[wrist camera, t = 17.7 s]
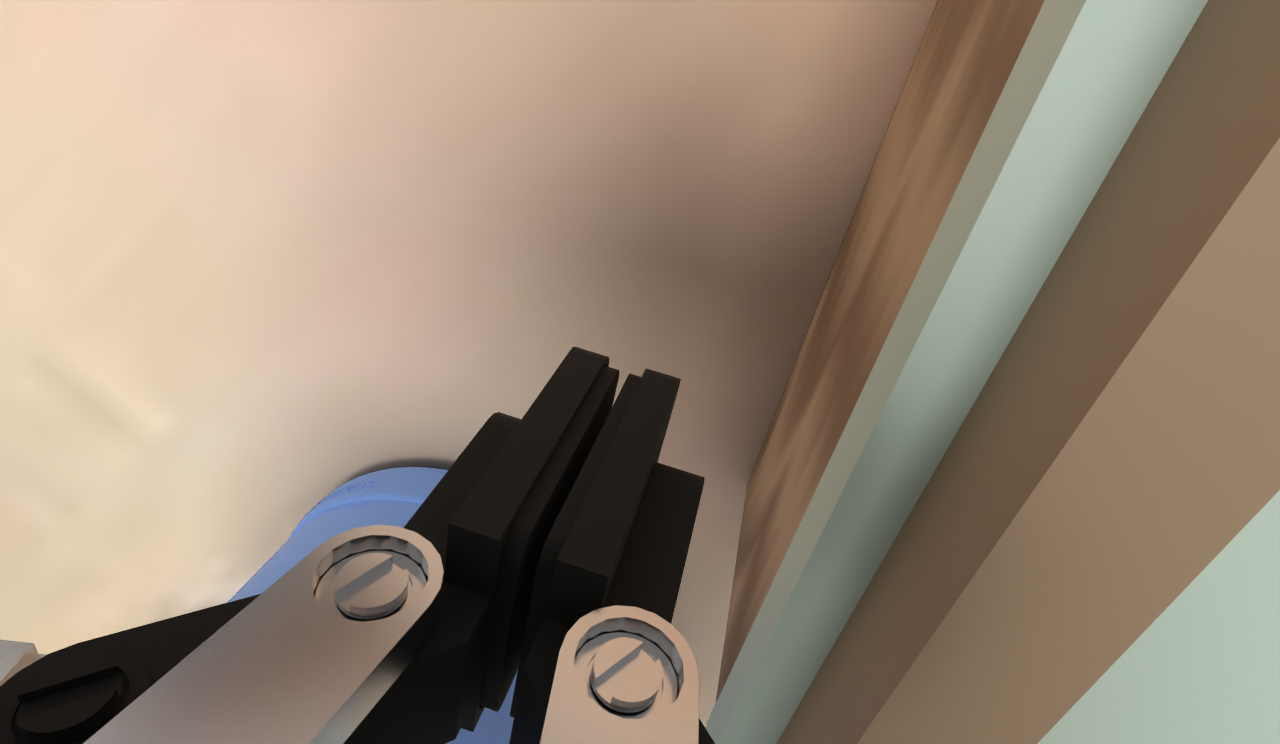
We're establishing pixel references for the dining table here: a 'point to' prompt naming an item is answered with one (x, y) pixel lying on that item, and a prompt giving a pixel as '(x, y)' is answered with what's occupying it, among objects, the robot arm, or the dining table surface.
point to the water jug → (369, 504)
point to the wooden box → (873, 276)
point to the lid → (1063, 424)
